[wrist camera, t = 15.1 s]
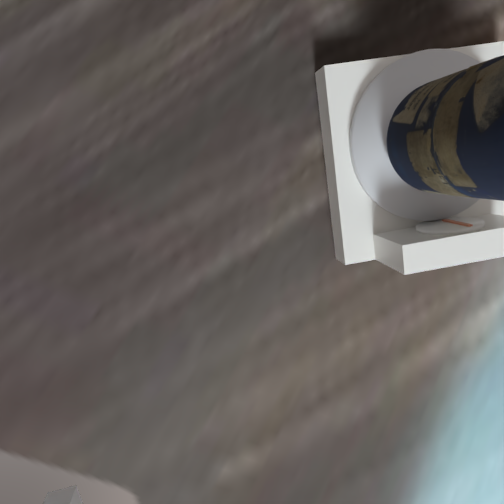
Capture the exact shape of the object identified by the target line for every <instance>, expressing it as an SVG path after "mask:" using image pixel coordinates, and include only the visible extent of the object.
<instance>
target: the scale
mask: <svg viewBox="0 0 504 504" xmlns="http://www.w3.org/2000/svg"><path fill="white" fill-rule="evenodd" d="M503 55H504V41H501V42H494V43H487V44H479V45H472V46H464V47H457V48H450V49H427V50H422V51H417V52H415V53H412V54H405V55H398V56H390V57H383V58H376V59H368V60H361V61H353V62H346V63H339V64H331V65H324V66H323V67H322V68H320V69H319V70H318V71H317V72H315V78H316V87H317V96H318V105H319V114H320V123H321V132H322V141H323V150H324V159H325V168H326V177H327V186H328V195H329V204H330V213H331V222H332V231H333V240H334V249H335V258H336V259H337V260H339V261H340V262H342V263H343V264H345V265H347V264H353V263H359V262H364V261H370V260H377V261H379V262H381V263H383V264H385V265H387V266H389V267H391V268H393V269H394V270H396V271H398V272H400V273H402V274H404V275H406V274H411V273H417V272H422V271H428V270H433V269H439V268H444V267H450V266H455V265H461V264H466V263H472V262H477V261H483V260H488V259H493V258H499V257H504V201H500V200H491V199H480V198H469V197H462V196H452V195H445V194H436V193H429V192H425V191H421V190H418V189H416V188H414V187H412V186H410V185H409V184H407V183H406V182H405V181H403V180H402V179H401V178H400V177H399V175H398V174H397V173H396V171H395V170H394V168H393V166H392V164H391V162H390V159H389V156H388V151H387V131H388V126H389V123H390V120H391V118H392V115H393V113H394V111H395V109H396V108H397V106H398V105H399V104H400V102H401V101H402V100H403V99H404V98H405V97H406V96H407V95H408V94H409V93H410V92H412V91H413V90H415V89H416V88H418V87H420V86H422V85H424V84H426V83H428V82H431V81H434V80H437V79H439V78H442V77H445V76H447V75H450V74H453V73H455V72H458V71H461V70H464V69H467V68H469V67H471V66H473V65H476V64H479V63H481V62H484V61H487V60H490V59H493V58H496V57H499V56H503Z"/></svg>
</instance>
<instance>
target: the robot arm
mask: <svg viewBox="0 0 504 504" xmlns="http://www.w3.org/2000/svg"><path fill="white" fill-rule="evenodd" d="M43 504H83V502H82V499H81V496H80V493H79V491H78V488H77V485H75V486H71V487H67V488H64V489H60V490H56V491H52V492H48V493H47V496H46V498H45V500H44V502H43Z"/></svg>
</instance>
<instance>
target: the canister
mask: <svg viewBox="0 0 504 504" xmlns="http://www.w3.org/2000/svg"><path fill="white" fill-rule="evenodd" d="M387 151H388V156H389V159H390V162H391V164H392V166H393V168H394V170H395V171H396V173H397V174H398V175H399V177H400V178H401V179H402V180H403V181H405V182H406V183H407V184H409V185H410V186H412V187H414V188H416V189H418V190H421V191H425V192H429V193H436V194H445V195H452V196H462V197H469V198H480V199H491V200H500V201H504V55H503V56H499V57H496V58H493V59H490V60H487V61H484V62H481V63H479V64H476V65H473V66H471V67H469V68H467V69H464V70H461V71H458V72H455V73H453V74H450V75H447V76H445V77H442V78H439V79H437V80H434V81H431V82H428V83H426V84H424V85H422V86H420V87H418V88H416V89H415V90H413V91H412V92H410V93H409V94H408V95H407V96H406V97H405V98H404V99H403V100H402V101H401V102H400V104H399V105H398V106H397V108H396V109H395V111H394V113H393V115H392V118H391V120H390V123H389V126H388V131H387Z"/></svg>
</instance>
